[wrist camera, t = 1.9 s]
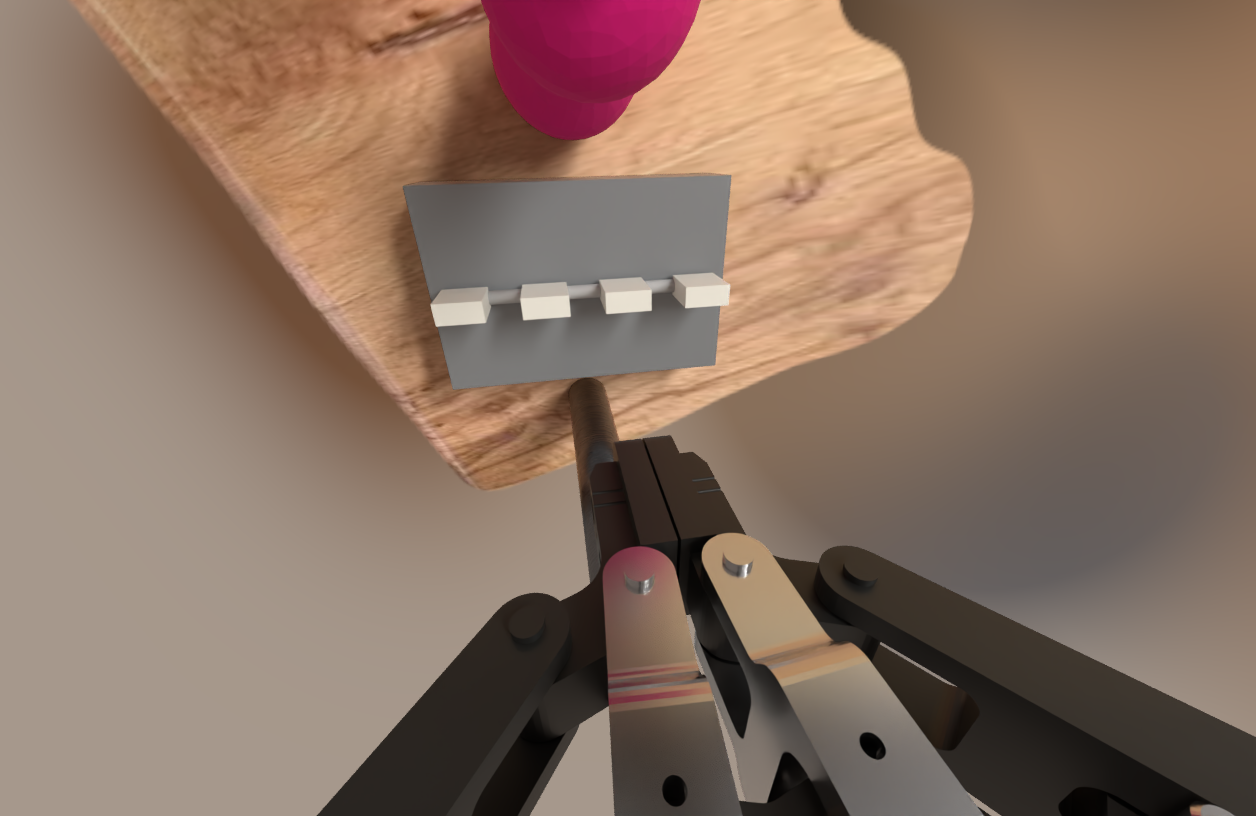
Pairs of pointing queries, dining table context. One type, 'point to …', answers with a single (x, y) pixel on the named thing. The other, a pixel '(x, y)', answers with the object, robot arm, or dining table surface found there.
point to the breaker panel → (572, 270)
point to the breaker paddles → (578, 297)
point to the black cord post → (591, 449)
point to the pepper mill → (582, 57)
